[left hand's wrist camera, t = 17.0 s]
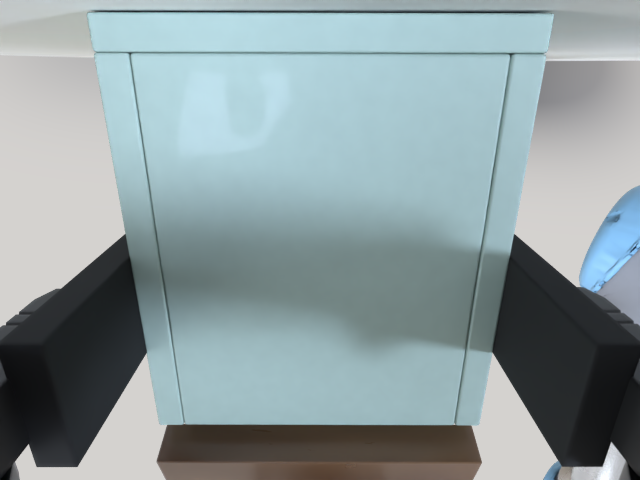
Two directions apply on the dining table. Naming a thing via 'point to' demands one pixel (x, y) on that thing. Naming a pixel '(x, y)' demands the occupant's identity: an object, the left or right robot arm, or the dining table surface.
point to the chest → (319, 205)
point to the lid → (319, 452)
